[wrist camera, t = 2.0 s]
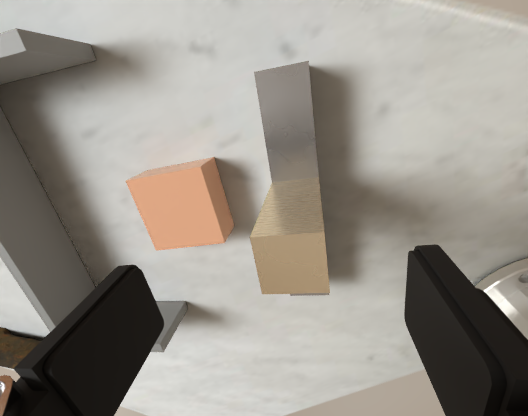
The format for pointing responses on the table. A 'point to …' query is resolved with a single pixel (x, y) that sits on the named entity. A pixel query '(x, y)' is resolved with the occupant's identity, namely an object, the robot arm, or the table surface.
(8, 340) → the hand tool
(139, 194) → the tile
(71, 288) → the box
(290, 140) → the scraper
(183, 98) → the table surface
